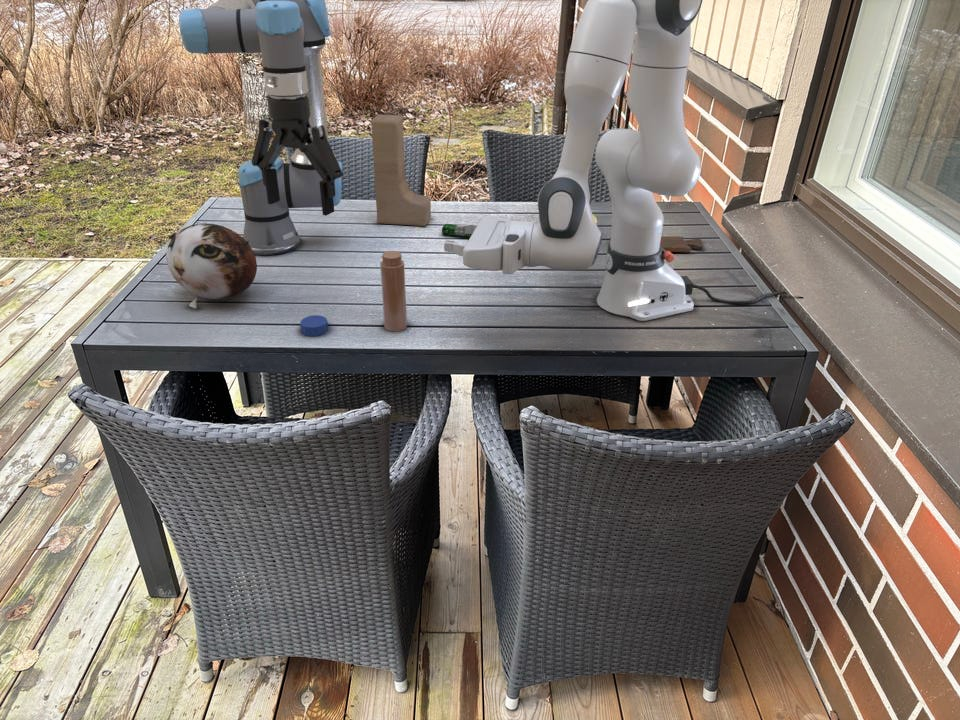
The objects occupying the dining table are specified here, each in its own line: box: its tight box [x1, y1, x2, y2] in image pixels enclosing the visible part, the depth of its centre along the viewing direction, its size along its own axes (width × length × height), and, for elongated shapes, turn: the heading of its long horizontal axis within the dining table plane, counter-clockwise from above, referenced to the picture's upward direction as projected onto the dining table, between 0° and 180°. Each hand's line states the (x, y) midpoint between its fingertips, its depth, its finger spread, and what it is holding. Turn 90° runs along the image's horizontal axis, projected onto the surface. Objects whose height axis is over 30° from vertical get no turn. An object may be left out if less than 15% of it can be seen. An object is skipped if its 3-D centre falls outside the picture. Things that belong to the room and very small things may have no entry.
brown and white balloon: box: [165, 222, 258, 309], centre depth 165 cm, size 22×18×20 cm
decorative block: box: [370, 114, 432, 227], centre depth 207 cm, size 8×15×30 cm, turn 82°
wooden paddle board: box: [609, 235, 704, 253], centre depth 200 cm, size 26×2×10 cm
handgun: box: [441, 223, 472, 239], centre depth 207 cm, size 16×3×15 cm
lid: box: [299, 314, 329, 337], centre depth 155 cm, size 6×6×2 cm
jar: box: [379, 250, 408, 332], centre depth 153 cm, size 5×5×17 cm
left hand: (300, 207), depth 142 cm, fingers open, 13 cm apart
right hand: (450, 237), depth 144 cm, fingers open, 8 cm apart
